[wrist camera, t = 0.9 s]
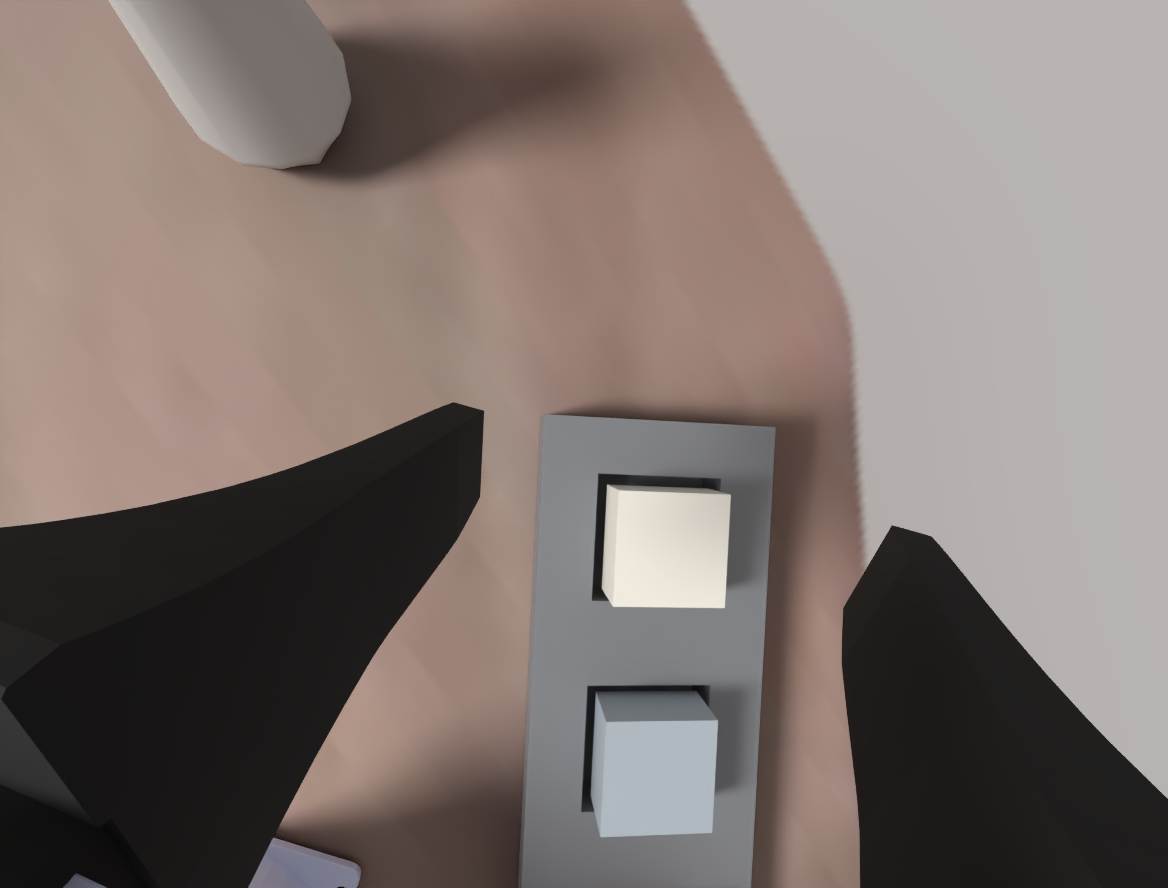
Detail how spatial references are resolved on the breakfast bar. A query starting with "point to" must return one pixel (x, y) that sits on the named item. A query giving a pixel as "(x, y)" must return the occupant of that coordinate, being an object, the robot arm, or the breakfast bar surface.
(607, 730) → the slate key
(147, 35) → the salt shaker
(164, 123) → the breakfast bar surface
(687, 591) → the cream key
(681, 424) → the key panel
